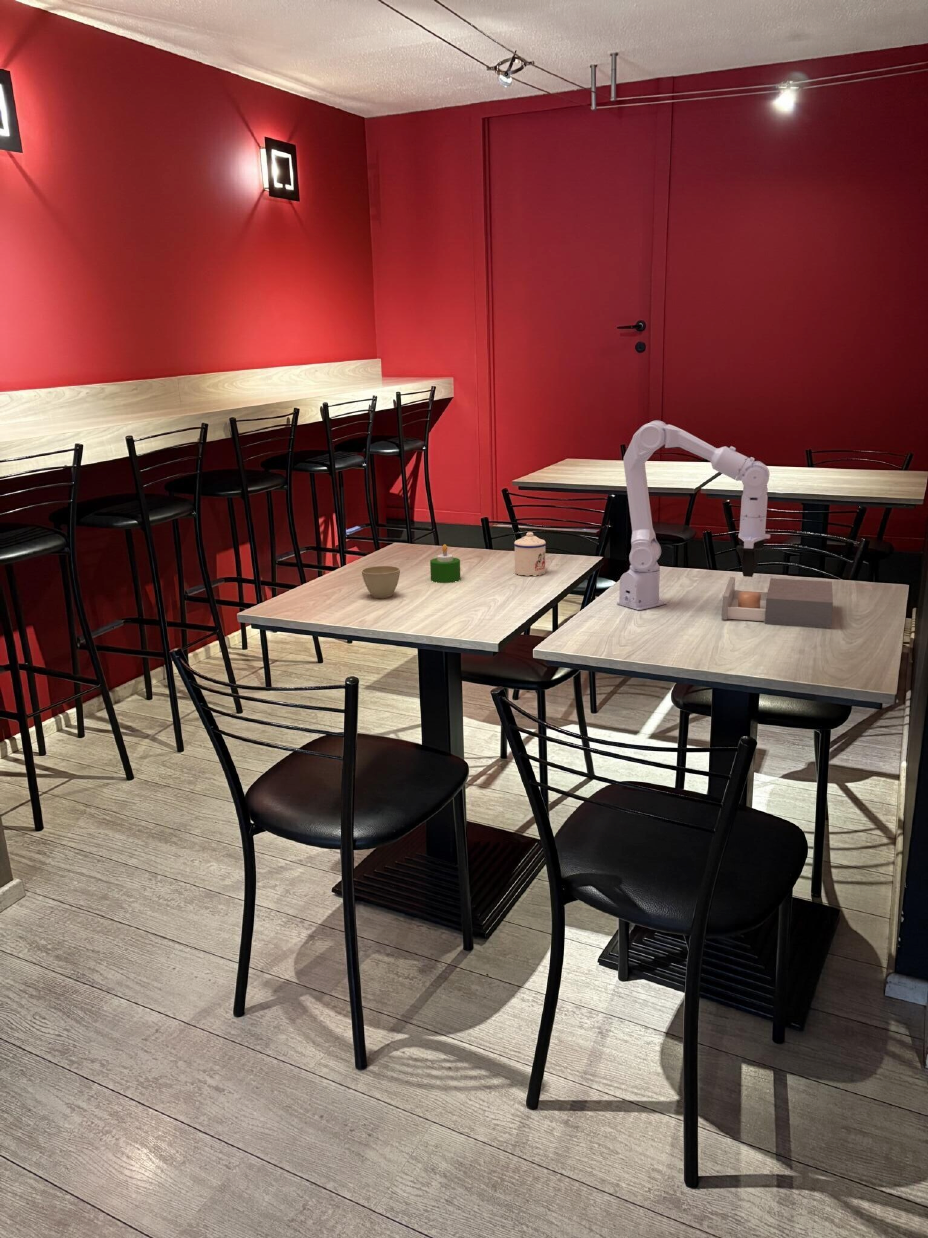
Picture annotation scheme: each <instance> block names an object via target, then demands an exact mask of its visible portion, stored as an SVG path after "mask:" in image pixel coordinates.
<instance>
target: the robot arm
mask: <svg viewBox="0 0 928 1238" xmlns="http://www.w3.org/2000/svg"><path fill="white" fill-rule="evenodd" d="M663 446H664V448H665V449H669V448H681V449H683V450H685V451H688V452H689V453H692V454H694V455H695V456H696V455H697V456H698V457H701V458H703V459H704V460H707V461H709V462H710V464H711V468H712V469H713V470H714V471H716V472H719V473H720V474H723V475H725V476H726V477H728V478H730V479H732V480H735V481H736V482H737V481H739V482H740V481H741V483H742V486H743V487H742V488H743V490H742V495H741V499H740V500H741V501H740V502H741V504H740V506H741V507H740V515H739V516H740V518H739V533H738V538H739V539H740V542H741V544H742V545H739V544H738V545H736V551H737V554H738V555H739V559H740V563H741V565H740V566H741V572H742V576H743V577H746V578H747V577H749V578H752V577H753V576H754V573H755V571H756V570H757V567H758V565H759V559H760V555H761V553H762V551H763V547H764V546H765V544H766V542H767V539H768V540H769V539H770V538H771V534H770V533H769V534H768V533H766V525H767V514H768V513H767V509H768V498H769V497H768V495H767V494H768V493H769V492H768V491H769V489H768V483H769V480H770V469H769V468H768V466H767V465H766V464H764V463H763V462H762V461H759V460H756V461H755V458H754V457H752V456H751V457H748V456H746V455H744V454H742V453H739V452H738V451H736V450H737V448H736V447H734V446H732V445H731V446H730V447H728V446H721V447H719V448H718V447H717V448H716V446H715V447H714V446H713V445H711V444H709V443H707V442H706V441H704V440H702V439H700V438H698V437H697V436H695V435H693V434H691V433H689V432H688V431H686V430H684V429H681V428H679V427H677V426H675V425H672V424H666V422H664V421H661V420H659V419H658V420H653V421H649V423H645V424H643V425H642V426H641V427H639V429H638V430H637V431H636V432H635V433H634V434H633V436H632V439H631V441H630V443H629V445H628V448H627V449H626V451H625V454H624V456H623V468H624V469H623V470H624V476H625V477H624V478H625V483H626V493H627V499H628V508H629V509H628V510H629V517H630V523H631V524H630V525H631V539H630V544H631V549H630V553H629V555H628V557H629V558H628V560H629V564H630V565H629V569H628V570H627V571H626V572H624V573H623V574H622V575H621V576H620V578H619V595H618V597H619V598H618V599H619V600H618V601H617V602H616V604H617V605H619V606H623V607H627V608H630V609H632V610H633V609H634V610H637V611H641V610H646V609H651V608H654V607H658V606H659V607H660V606H663V605H667V602H666V601H663V600H660V577H661V576H660V575H661V572H660V571H661V566H660V565H659V564H658V560H659V558H660V557H661V554H662V548H661V544H660V543H659V542H658V540H657V538H656V532H655V530H654V528H653V527H654V526H653V521H652V509H651V504H650V496H649V485H648V480H647V477H648V476H647V472H646V462H647V461H648V460H649V459H650V458H651V456H652V455H653V454H654V452H655V451H657V450H659V449H660V448H662V447H663Z"/></svg>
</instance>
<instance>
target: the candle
mask: <svg viewBox="0 0 928 1238" xmlns="http://www.w3.org/2000/svg"><path fill="white" fill-rule="evenodd" d="M441 549H442V550H441V551H442V553H441V554H439V555H437V556H436V557H435V558H432V559H430V561H429V567H430V581H431V582H432V581H433V582H432V583H436V582H437V584H451V583H456V582H455V581H457V582H459V580H460V581H461V559H460V558H457V557H453V554H448V546H447V544H445V543H444V544H443V545H442V548H441Z"/></svg>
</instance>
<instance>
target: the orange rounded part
mask: <svg viewBox="0 0 928 1238" xmlns="http://www.w3.org/2000/svg"><path fill="white" fill-rule="evenodd" d="M753 591H754V590H749V591H743V592H739V598H738V607H741V608H756V609H760V599H761V594H760V593H758V592H753Z"/></svg>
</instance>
